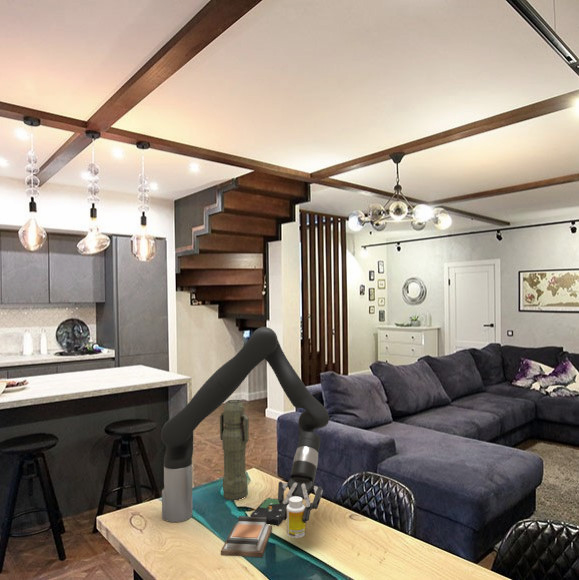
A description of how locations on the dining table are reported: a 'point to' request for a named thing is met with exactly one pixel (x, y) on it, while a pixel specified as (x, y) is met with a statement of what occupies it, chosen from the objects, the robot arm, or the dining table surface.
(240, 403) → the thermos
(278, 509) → the disk drive
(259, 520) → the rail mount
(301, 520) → the supplement bottle
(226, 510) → the dining table surface
